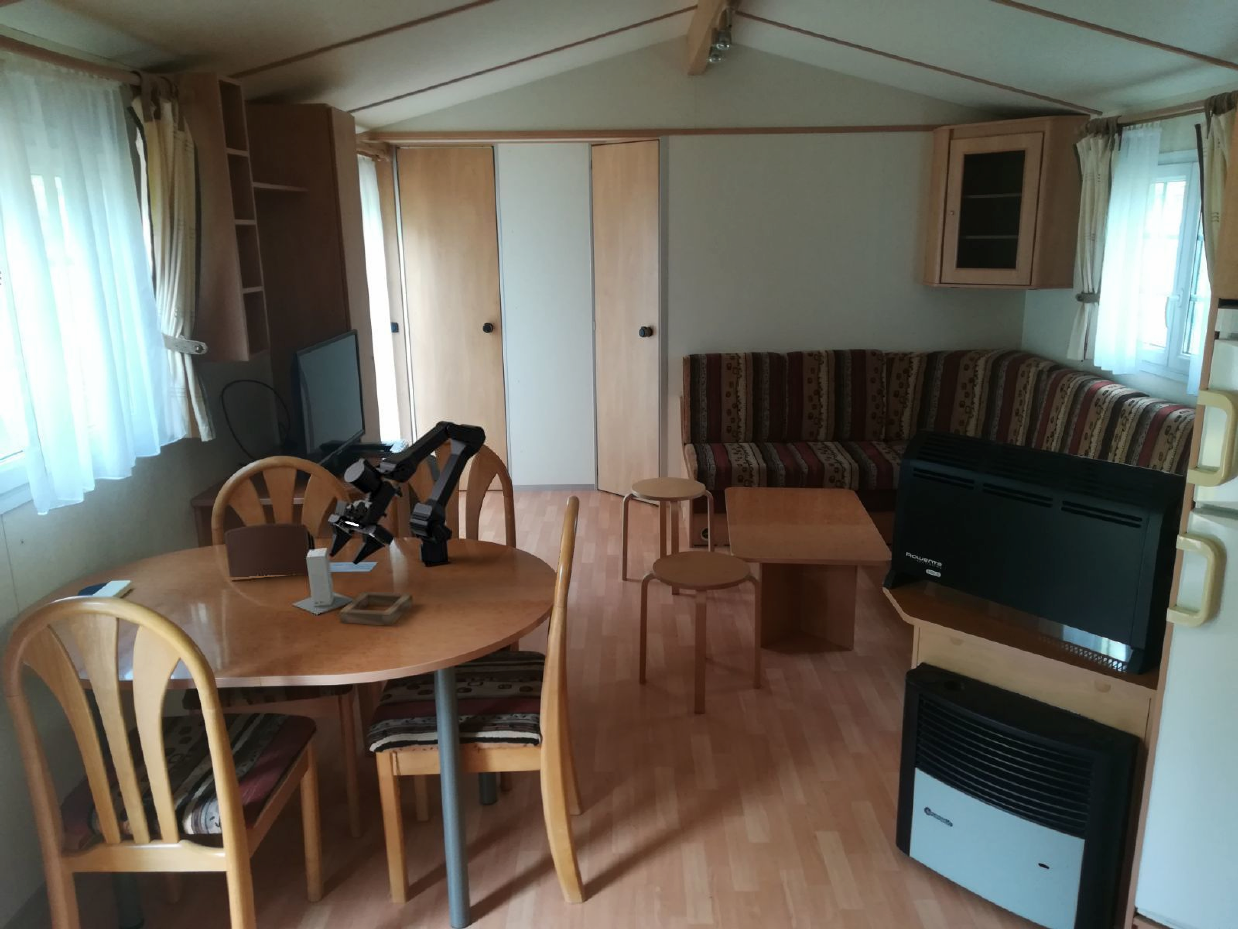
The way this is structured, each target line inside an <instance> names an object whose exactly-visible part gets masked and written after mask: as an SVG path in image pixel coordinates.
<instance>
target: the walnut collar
mask: <svg viewBox="0 0 1238 929" xmlns="http://www.w3.org/2000/svg"><path fill="white" fill-rule="evenodd" d="M413 605H414V600H413V593H412V594H411V593H397V592H380V591H378V592H377V591H363V592H362V593H360V594H359V595H358V596H356V597H355V598H354V600H353V601H352V602H351V603H348V604H346V606H344V607H343V608H342V609H340V611H339V612H338V616H339V623H341V624H355V625H356V624H357V625H376V626H392V625H393V623H394V624H395V622H396V621H397V620H398V619H399V618H400V617H401V616H403V615H404V613H405V612H406V611H408V610H409V609H410V608H411V607H412V606H413ZM368 606H383V607H385V606H386V607H389V608H388V609H386V610H385V611H384V610H371V609H368V610H367V609H366V608H367V607H368Z"/></svg>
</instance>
